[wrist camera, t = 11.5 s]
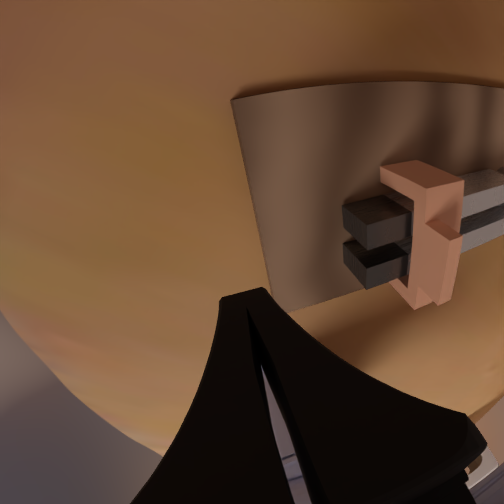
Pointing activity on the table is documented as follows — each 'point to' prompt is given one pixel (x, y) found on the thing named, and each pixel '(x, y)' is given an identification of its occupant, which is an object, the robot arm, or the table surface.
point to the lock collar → (429, 230)
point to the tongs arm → (402, 210)
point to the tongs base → (399, 252)
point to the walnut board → (349, 165)
